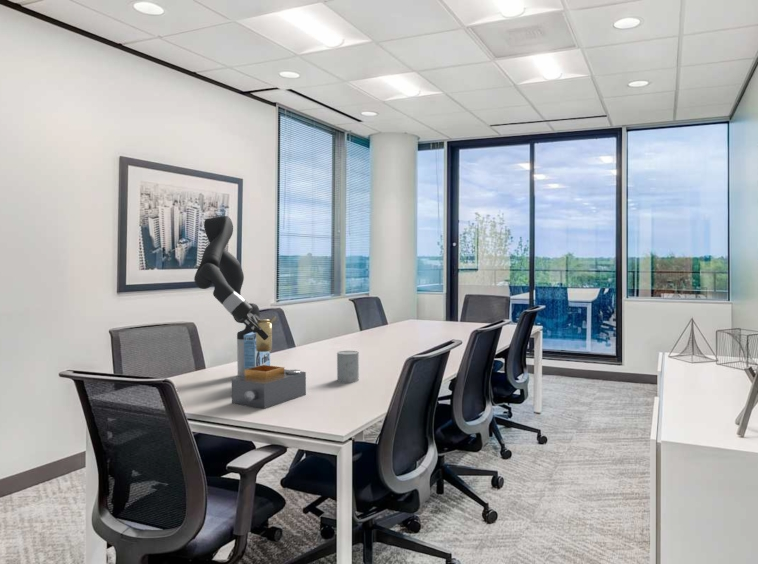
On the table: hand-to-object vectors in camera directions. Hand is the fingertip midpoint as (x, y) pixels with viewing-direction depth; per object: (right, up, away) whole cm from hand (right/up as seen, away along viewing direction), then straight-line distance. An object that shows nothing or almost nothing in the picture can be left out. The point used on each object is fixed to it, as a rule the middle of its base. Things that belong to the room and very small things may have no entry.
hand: (268, 337), depth 216 cm
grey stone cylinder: (+29, -22, +32) cm, 48 cm away
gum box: (-9, -23, +22) cm, 33 cm away
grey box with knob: (0, -24, -1) cm, 24 cm away
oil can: (-2, -5, 0) cm, 5 cm away
